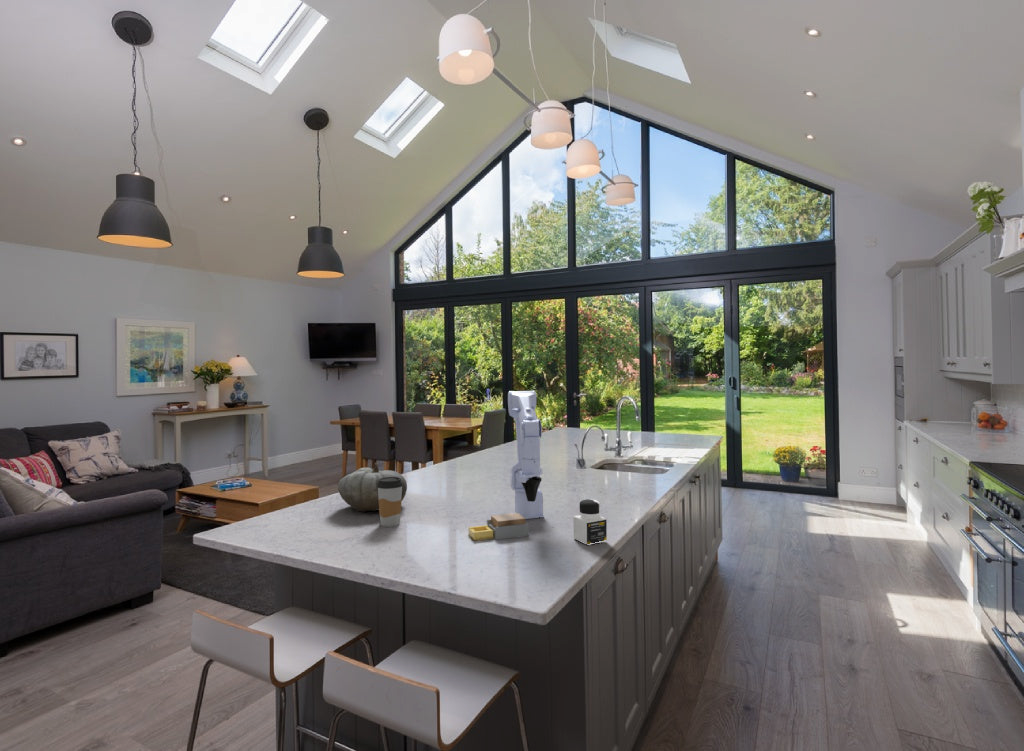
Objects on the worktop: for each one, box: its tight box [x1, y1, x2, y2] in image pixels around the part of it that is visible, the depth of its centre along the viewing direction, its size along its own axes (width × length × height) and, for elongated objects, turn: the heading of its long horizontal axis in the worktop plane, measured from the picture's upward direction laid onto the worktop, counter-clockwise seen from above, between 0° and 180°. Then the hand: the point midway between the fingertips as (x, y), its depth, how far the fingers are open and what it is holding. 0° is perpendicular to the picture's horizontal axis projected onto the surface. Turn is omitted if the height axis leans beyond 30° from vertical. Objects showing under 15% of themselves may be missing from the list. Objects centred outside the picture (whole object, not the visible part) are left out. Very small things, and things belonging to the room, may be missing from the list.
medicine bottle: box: [573, 498, 608, 544], centre depth 163 cm, size 7×7×12 cm
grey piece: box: [486, 519, 530, 540], centre depth 171 cm, size 10×9×4 cm
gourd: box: [337, 462, 408, 512], centre depth 204 cm, size 25×25×17 cm
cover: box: [490, 512, 527, 527], centre depth 171 cm, size 9×7×2 cm
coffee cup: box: [377, 477, 403, 528], centre depth 182 cm, size 8×8×15 cm
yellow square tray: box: [468, 524, 494, 541], centre depth 168 cm, size 6×6×2 cm
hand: (531, 500), depth 174 cm, fingers closed
